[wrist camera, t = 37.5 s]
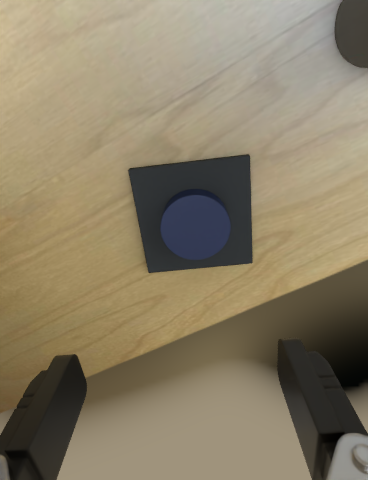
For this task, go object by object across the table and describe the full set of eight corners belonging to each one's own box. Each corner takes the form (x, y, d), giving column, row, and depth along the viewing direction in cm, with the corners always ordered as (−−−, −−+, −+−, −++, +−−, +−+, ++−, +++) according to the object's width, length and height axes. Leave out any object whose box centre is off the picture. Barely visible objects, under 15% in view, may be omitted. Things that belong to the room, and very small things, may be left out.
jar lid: (202, 261, 28) (203, 271, 26) (149, 229, 26) (146, 238, 25) (241, 212, 26) (245, 220, 24) (186, 175, 24) (185, 180, 23)
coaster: (251, 260, 28) (252, 263, 28) (149, 270, 29) (148, 273, 28) (248, 154, 24) (250, 155, 24) (129, 168, 25) (128, 169, 24)
